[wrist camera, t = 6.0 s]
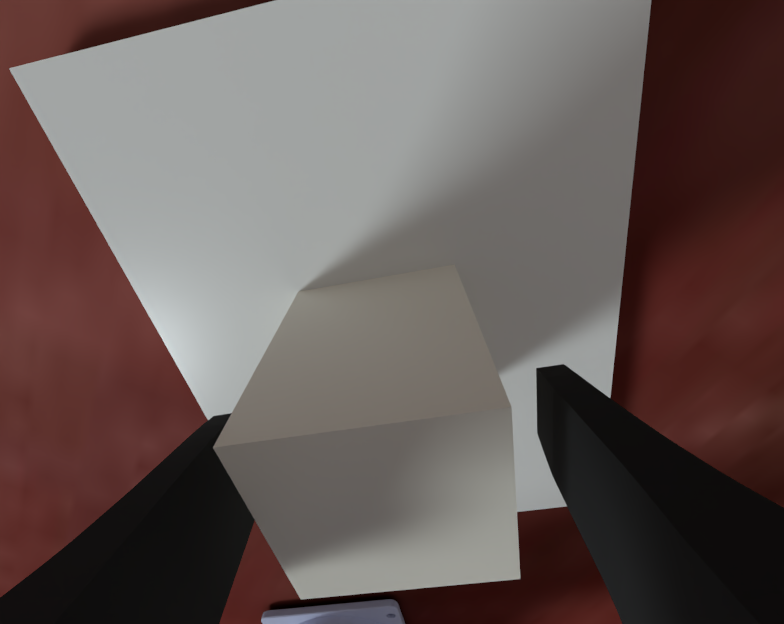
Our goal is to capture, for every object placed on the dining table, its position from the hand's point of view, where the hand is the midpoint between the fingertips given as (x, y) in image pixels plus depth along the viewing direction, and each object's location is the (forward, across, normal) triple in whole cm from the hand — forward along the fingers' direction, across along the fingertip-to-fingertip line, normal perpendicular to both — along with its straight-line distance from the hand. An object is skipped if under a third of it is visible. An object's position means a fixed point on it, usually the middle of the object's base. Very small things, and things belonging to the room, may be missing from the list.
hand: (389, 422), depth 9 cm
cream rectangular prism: (+3, 0, 0) cm, 3 cm away
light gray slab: (+4, 0, 0) cm, 4 cm away
